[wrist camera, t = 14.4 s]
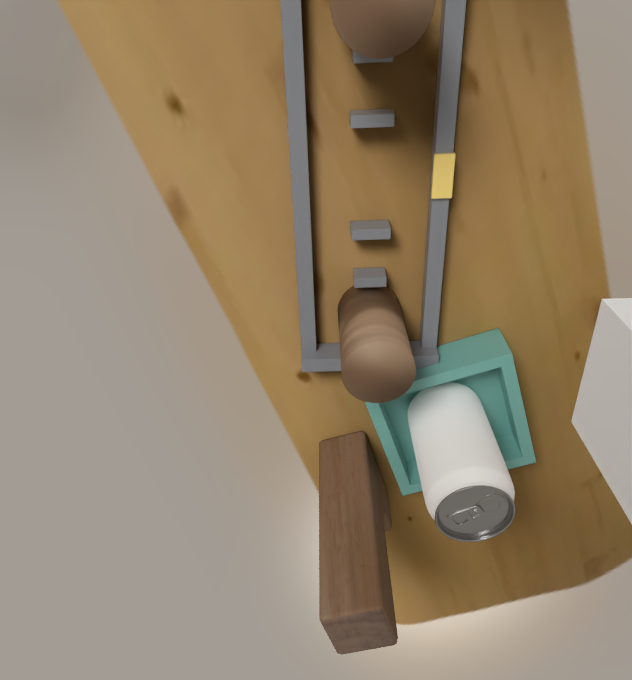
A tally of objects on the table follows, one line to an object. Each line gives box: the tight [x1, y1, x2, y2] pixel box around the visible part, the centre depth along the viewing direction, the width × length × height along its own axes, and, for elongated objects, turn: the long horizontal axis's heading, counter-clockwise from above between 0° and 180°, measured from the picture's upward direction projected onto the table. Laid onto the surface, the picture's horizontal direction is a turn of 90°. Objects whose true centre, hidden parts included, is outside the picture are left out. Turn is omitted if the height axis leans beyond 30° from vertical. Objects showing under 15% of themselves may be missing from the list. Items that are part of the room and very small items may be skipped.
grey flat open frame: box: [281, 0, 466, 372], centre depth 39 cm, size 30×11×2 cm, turn 2°
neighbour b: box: [338, 286, 416, 403], centre depth 42 cm, size 5×5×9 cm
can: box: [408, 382, 516, 542], centre depth 45 cm, size 6×6×12 cm
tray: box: [365, 328, 536, 496], centre depth 49 cm, size 12×12×4 cm
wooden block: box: [319, 431, 398, 654], centre depth 47 cm, size 9×4×18 cm, turn 18°
